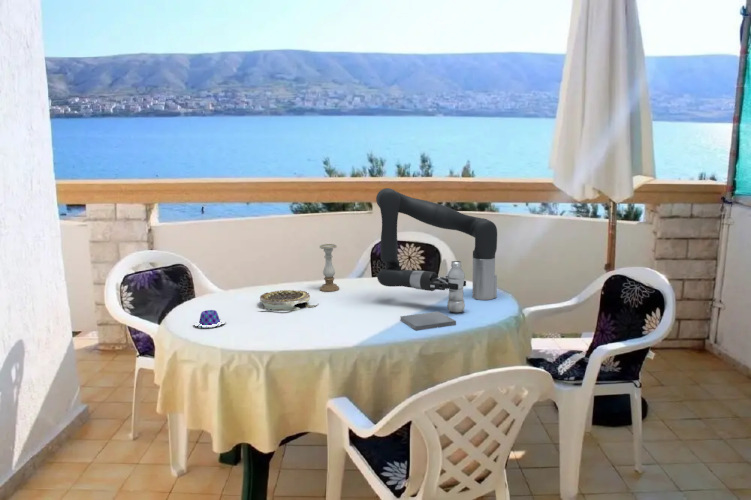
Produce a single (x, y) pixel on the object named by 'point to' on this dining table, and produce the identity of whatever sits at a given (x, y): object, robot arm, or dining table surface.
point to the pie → (285, 300)
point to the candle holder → (328, 269)
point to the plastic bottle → (456, 296)
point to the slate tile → (427, 320)
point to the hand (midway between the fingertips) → (461, 285)
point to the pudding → (209, 317)
